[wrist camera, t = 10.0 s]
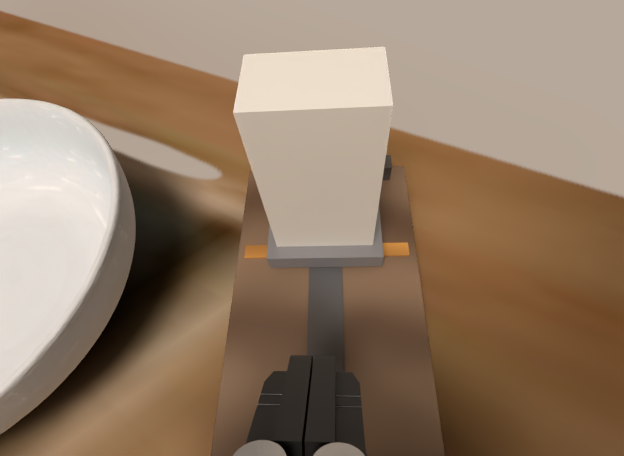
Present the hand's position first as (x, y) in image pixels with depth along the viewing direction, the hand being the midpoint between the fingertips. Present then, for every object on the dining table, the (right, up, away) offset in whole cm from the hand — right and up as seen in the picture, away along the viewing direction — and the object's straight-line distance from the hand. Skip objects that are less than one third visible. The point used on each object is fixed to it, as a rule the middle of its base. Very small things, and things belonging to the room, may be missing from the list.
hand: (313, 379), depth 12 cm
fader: (+1, +5, +9) cm, 10 cm away
